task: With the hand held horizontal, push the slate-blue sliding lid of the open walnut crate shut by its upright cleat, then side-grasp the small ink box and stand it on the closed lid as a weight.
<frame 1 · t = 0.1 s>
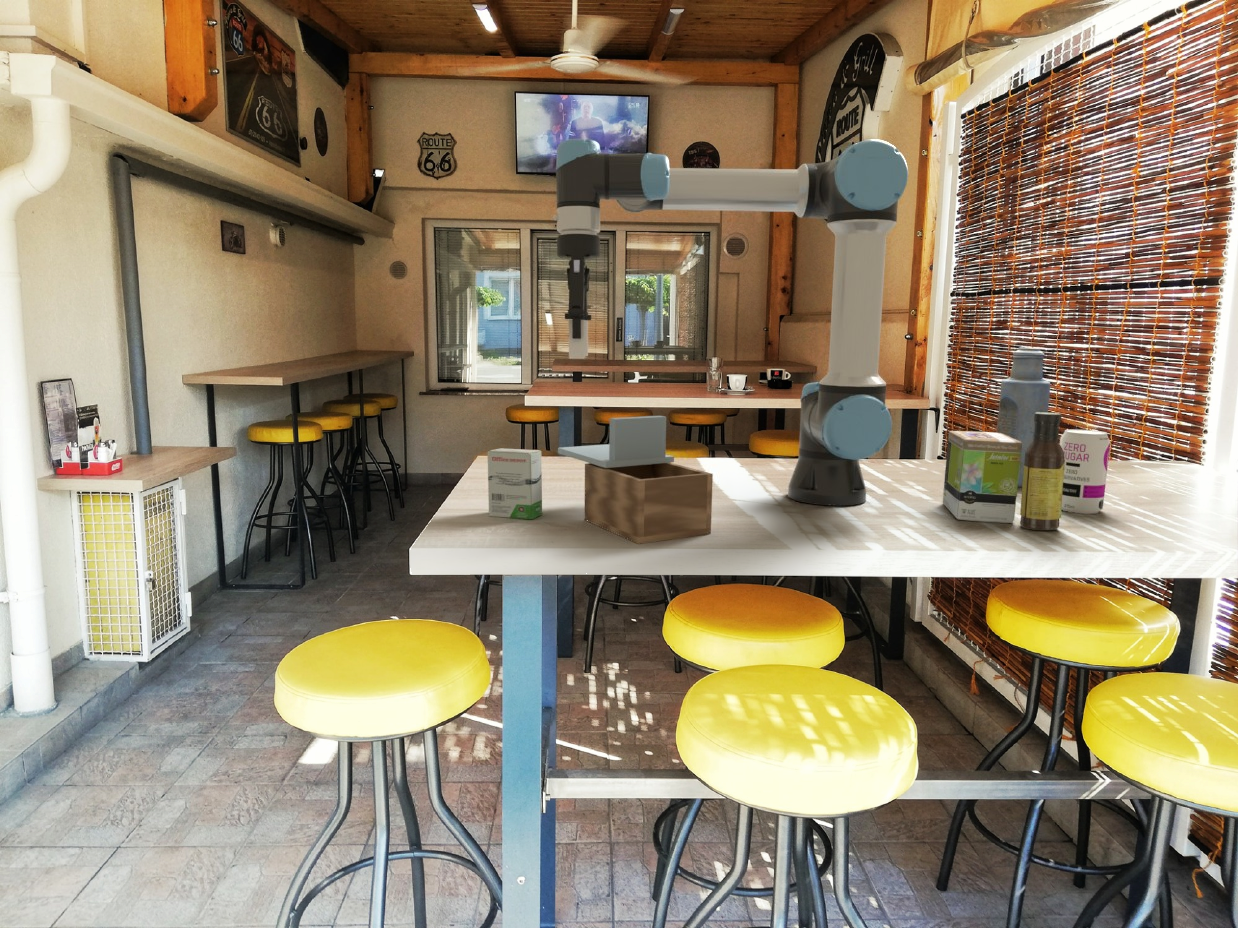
hand: (578, 357, 148), 28 cm above the table, tool pointing down, fingers open, 13 cm apart
lid: (614, 435, 148), point 14 cm above the table, slide at 11.0 cm
bottle: (1015, 484, 185), on the table
sauce bottle: (1038, 528, 143), on the table
tea box: (976, 514, 154), on the table
crate: (645, 526, 141), on the table
supplement can: (1077, 510, 158), on the table
ink box: (515, 516, 148), on the table
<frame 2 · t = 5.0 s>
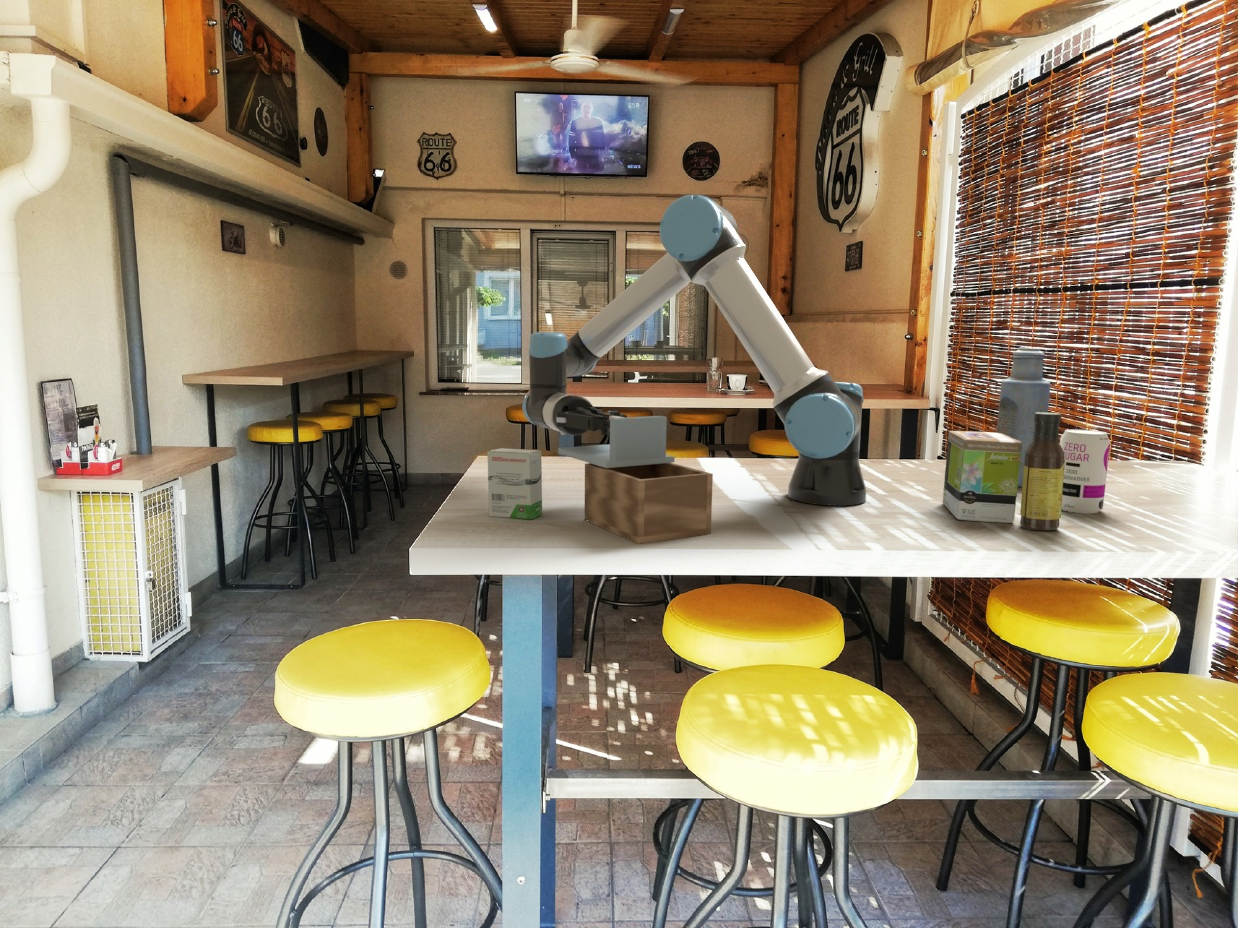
hand: (631, 427, 141), 16 cm above the table, tool horizontal, fingers closed
lid: (614, 435, 148), point 14 cm above the table, slide at 10.9 cm, touching gripper
everything else where it was.
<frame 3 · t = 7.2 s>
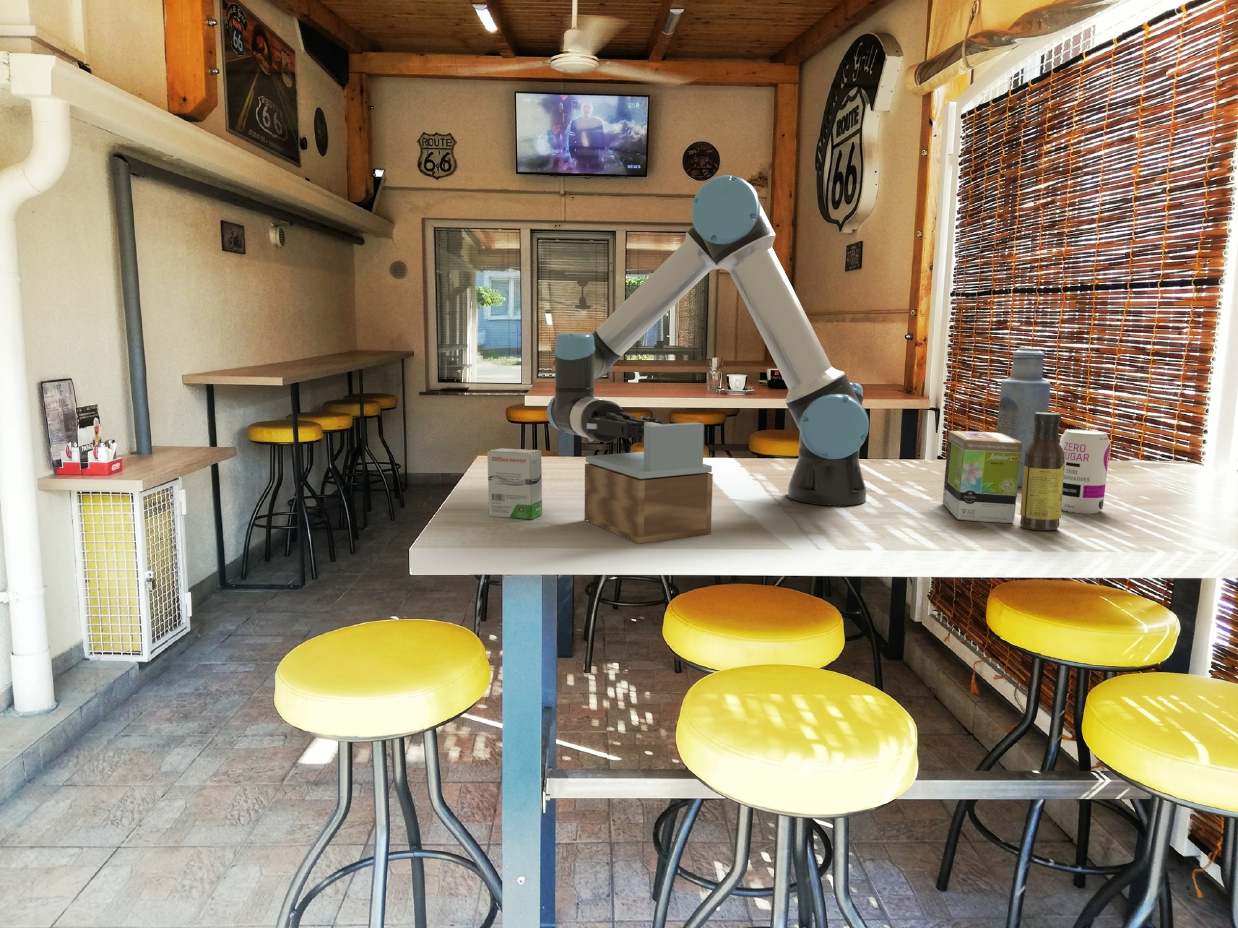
hand: (669, 435, 132), 16 cm above the table, tool horizontal, fingers closed
lid: (647, 443, 138), point 14 cm above the table, slide at 0.0 cm, touching gripper
everything else where it was.
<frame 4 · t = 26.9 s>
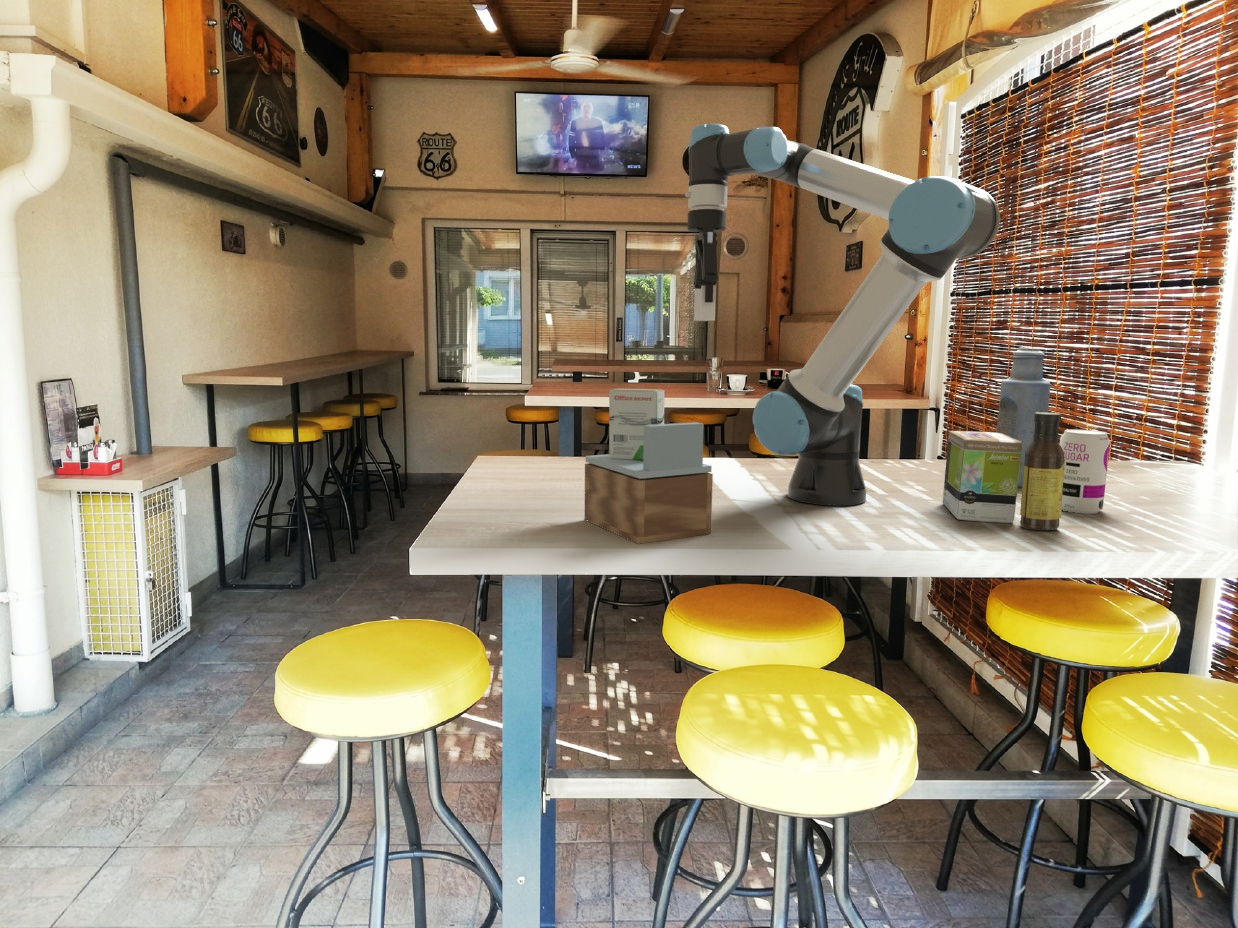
hand: (703, 321, 165), 35 cm above the table, tool pointing down, fingers open, 13 cm apart
lid: (646, 443, 138), point 14 cm above the table, slide at 0.1 cm, touching ink box
ink box: (636, 459, 142), point 11 cm above the table, touching lid
everything else where it was.
at the end: lid slide at 0.1 cm; ink box inside the target area on the crate (3.3 cm from its centre), point 11.1 cm above the crate's base; ink box tilted 0° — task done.
